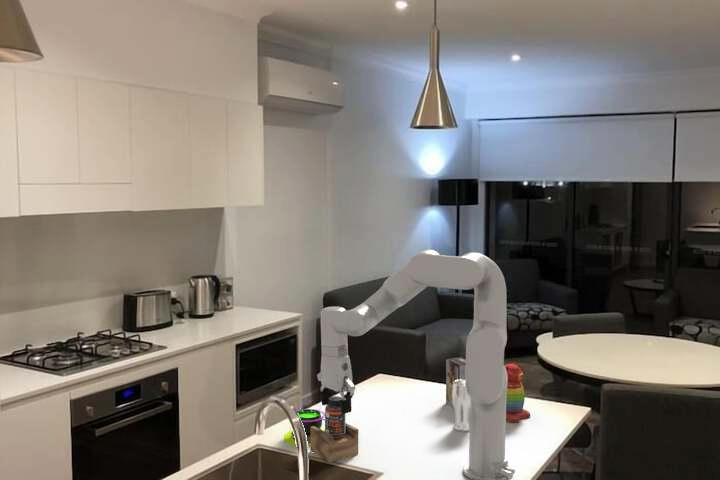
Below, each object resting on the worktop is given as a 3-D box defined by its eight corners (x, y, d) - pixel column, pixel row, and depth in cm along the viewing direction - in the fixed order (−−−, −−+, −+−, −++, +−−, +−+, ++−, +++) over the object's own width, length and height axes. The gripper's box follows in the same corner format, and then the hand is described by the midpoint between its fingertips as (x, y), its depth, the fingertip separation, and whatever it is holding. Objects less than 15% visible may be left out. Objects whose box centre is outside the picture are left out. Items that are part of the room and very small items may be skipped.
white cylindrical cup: (473, 433, 208) (474, 386, 207) (451, 431, 210) (451, 385, 208) (474, 425, 215) (475, 379, 214) (452, 423, 216) (453, 378, 215)
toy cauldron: (342, 435, 207) (342, 400, 206) (312, 451, 194) (312, 414, 193) (304, 425, 215) (304, 392, 214) (273, 440, 203) (273, 404, 202)
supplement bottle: (327, 441, 189) (327, 402, 188) (323, 433, 194) (323, 395, 193) (347, 439, 190) (347, 400, 189) (342, 431, 196) (342, 394, 195)
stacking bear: (513, 424, 216) (515, 370, 215) (488, 415, 224) (489, 364, 222) (532, 416, 223) (534, 364, 222) (507, 408, 231) (509, 358, 229)
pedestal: (358, 454, 192) (358, 429, 191) (329, 462, 186) (329, 437, 185) (338, 443, 200) (338, 419, 199) (310, 451, 194) (310, 426, 193)
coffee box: (474, 408, 231) (475, 363, 230) (459, 410, 229) (459, 365, 227) (459, 400, 240) (460, 356, 238) (444, 402, 237) (445, 358, 235)
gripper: (363, 353, 186) (365, 413, 187) (328, 343, 199) (330, 398, 201) (341, 358, 181) (343, 419, 182) (307, 347, 195) (309, 404, 196)
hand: (336, 408), depth 191 cm, fingers open, 9 cm apart
